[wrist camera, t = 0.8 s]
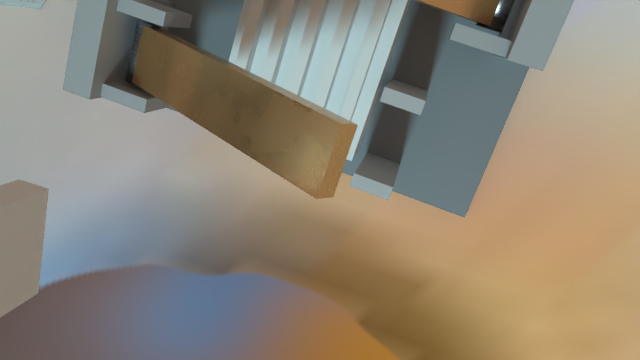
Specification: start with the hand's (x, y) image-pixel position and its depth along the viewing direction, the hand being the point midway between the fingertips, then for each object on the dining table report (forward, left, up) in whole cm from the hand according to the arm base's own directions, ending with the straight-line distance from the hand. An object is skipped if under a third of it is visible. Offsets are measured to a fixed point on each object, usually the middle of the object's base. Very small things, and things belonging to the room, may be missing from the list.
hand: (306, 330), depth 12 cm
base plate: (-6, +5, -21) cm, 22 cm away
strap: (-7, +1, -13) cm, 15 cm away
